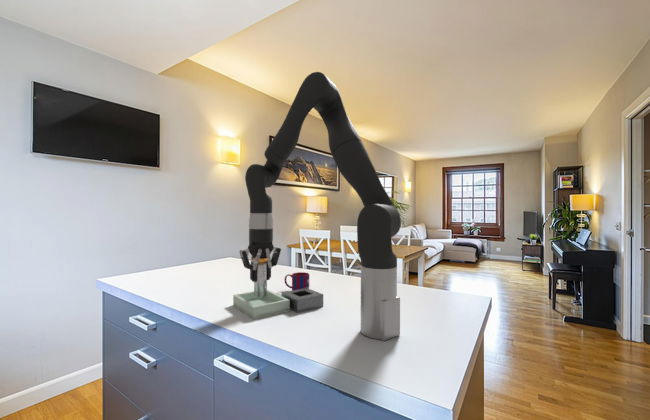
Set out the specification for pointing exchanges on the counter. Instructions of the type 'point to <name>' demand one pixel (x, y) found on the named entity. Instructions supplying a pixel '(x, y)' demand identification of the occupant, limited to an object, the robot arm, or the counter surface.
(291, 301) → the block
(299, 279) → the mug
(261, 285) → the pin
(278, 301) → the tray
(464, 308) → the counter surface
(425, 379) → the counter surface
